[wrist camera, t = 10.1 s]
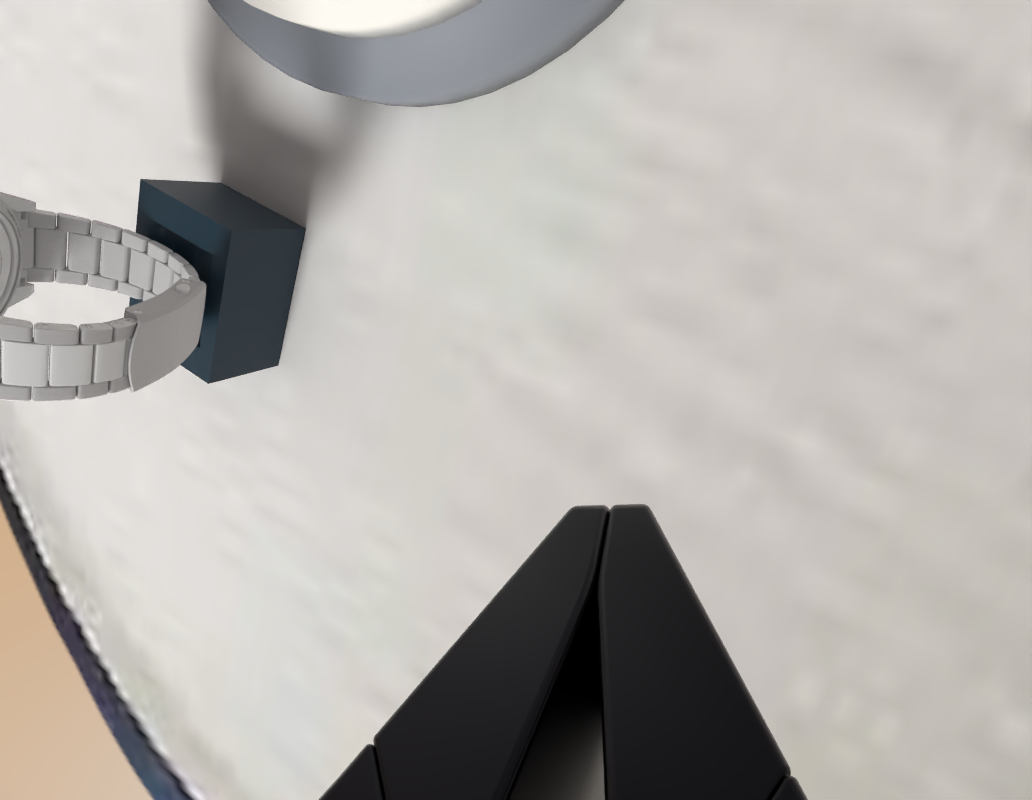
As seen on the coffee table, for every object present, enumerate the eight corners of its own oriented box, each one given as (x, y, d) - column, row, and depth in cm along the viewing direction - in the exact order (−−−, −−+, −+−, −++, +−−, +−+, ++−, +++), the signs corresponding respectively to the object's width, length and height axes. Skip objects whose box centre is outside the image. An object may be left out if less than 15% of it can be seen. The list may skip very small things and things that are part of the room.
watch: (184, 163, 25) (-233, 134, 15) (343, 248, 22) (-37, 275, 13) (168, 298, 27) (-201, 344, 18) (310, 388, 25) (-31, 498, 15)
